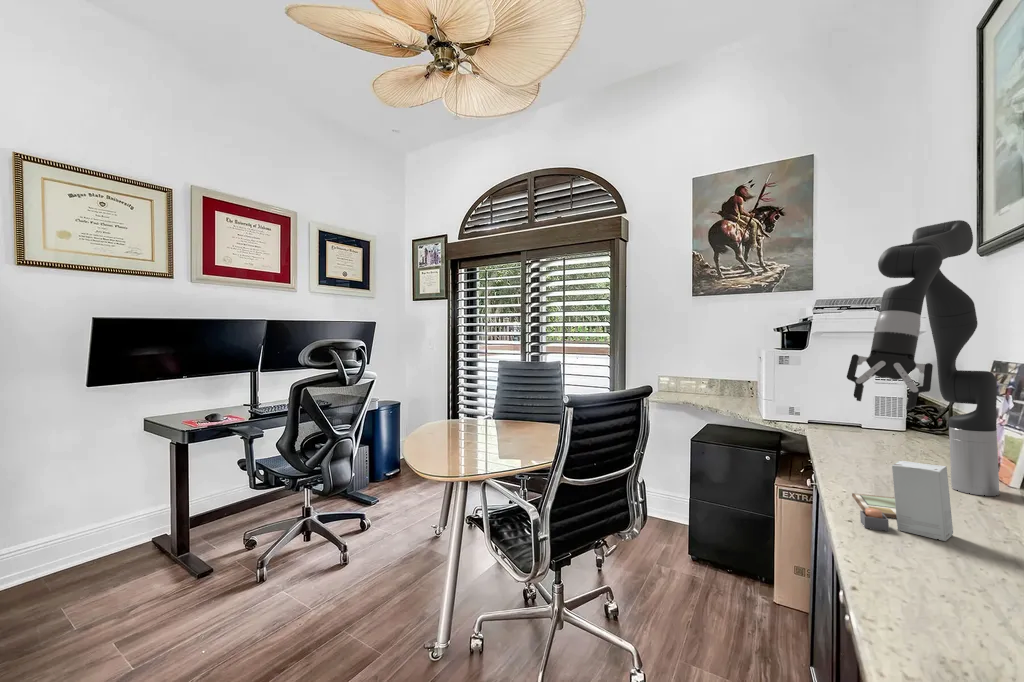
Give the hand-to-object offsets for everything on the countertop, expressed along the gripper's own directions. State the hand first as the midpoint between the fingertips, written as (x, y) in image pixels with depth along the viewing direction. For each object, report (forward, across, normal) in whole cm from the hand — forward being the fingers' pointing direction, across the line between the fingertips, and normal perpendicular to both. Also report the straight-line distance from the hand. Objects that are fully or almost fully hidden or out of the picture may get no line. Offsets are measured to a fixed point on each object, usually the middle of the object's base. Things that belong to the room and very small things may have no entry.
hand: (882, 405), depth 99 cm
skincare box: (+26, -10, -9) cm, 29 cm away
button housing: (+27, -2, -7) cm, 28 cm away
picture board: (+24, -4, -23) cm, 33 cm away
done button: (+25, -2, -6) cm, 26 cm away
